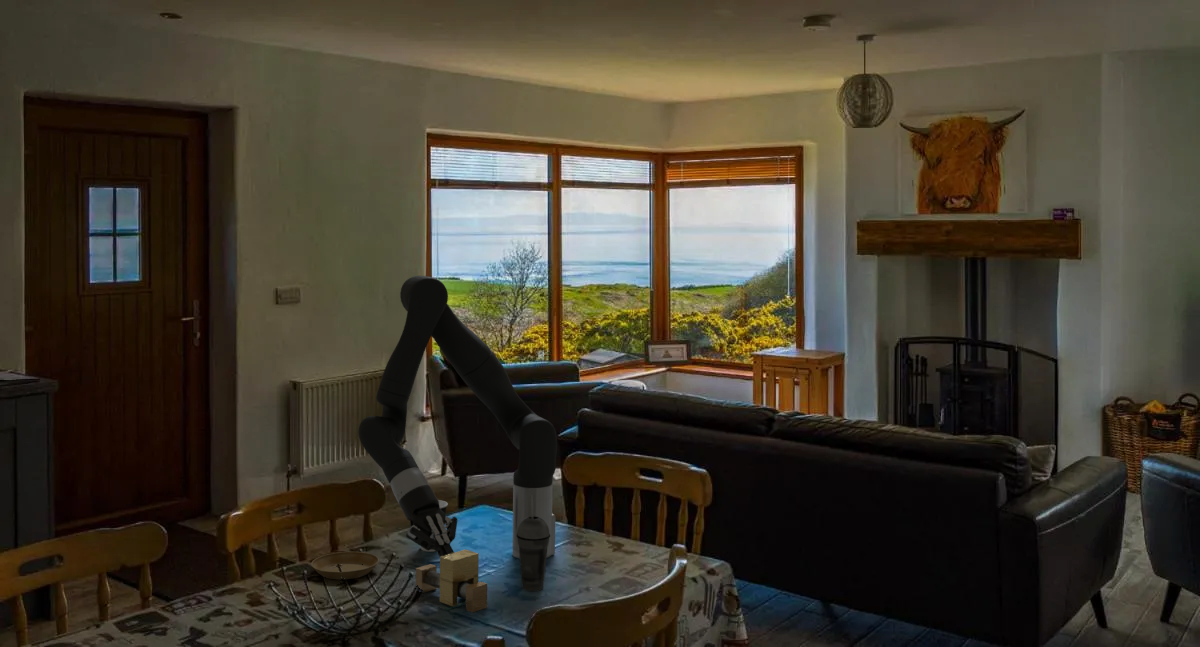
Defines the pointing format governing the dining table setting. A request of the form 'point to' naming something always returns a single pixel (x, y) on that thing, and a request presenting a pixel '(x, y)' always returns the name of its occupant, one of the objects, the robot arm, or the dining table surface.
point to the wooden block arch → (457, 573)
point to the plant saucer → (345, 564)
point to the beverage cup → (533, 551)
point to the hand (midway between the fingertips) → (451, 562)
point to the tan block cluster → (465, 590)
